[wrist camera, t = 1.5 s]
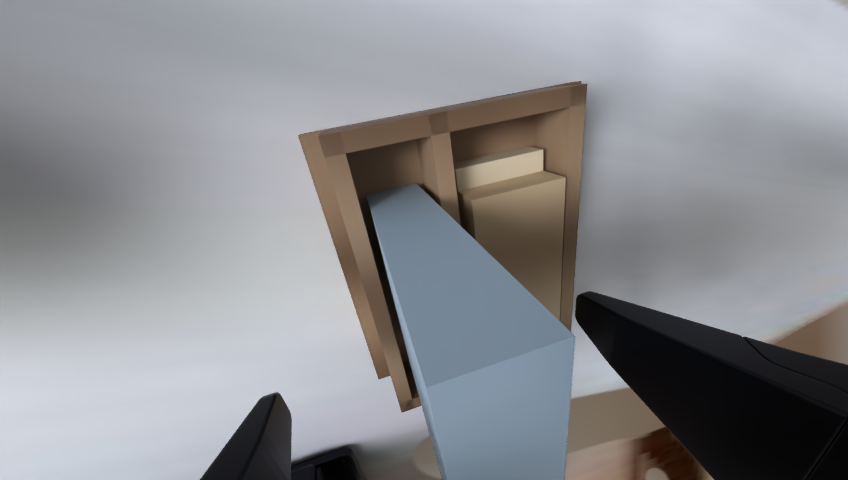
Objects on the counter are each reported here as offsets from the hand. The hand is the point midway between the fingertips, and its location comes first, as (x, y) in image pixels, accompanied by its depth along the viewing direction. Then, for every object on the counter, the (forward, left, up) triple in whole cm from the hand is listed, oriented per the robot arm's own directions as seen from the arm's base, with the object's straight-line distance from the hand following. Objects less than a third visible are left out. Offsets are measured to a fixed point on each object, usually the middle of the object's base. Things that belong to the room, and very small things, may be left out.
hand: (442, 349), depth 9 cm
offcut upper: (0, -4, -4) cm, 6 cm away
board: (0, 0, -5) cm, 5 cm away
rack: (0, -3, -6) cm, 6 cm away
